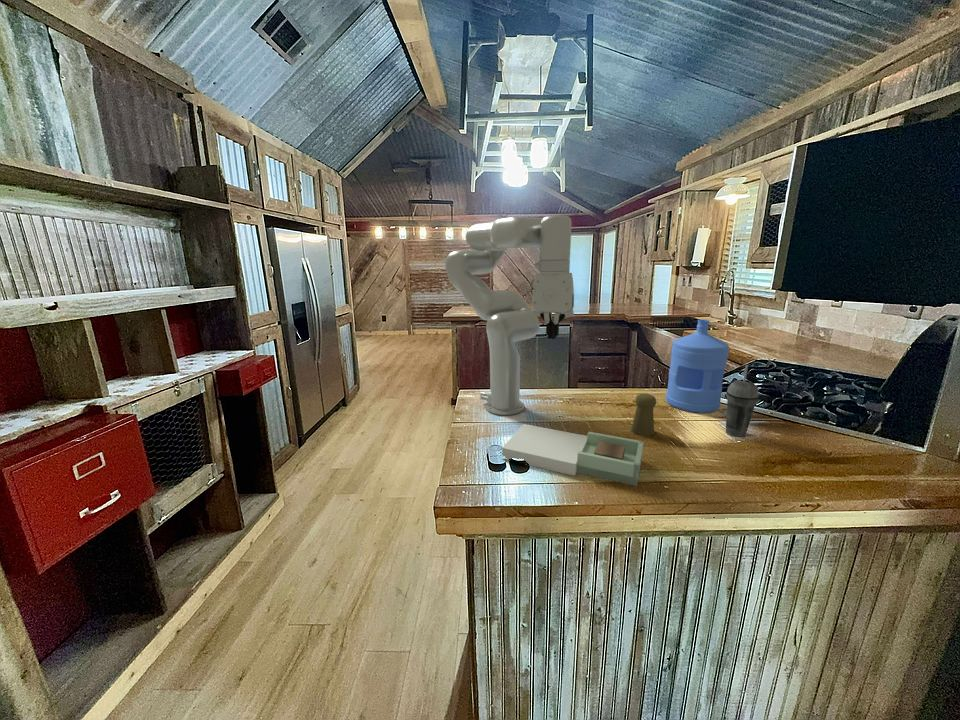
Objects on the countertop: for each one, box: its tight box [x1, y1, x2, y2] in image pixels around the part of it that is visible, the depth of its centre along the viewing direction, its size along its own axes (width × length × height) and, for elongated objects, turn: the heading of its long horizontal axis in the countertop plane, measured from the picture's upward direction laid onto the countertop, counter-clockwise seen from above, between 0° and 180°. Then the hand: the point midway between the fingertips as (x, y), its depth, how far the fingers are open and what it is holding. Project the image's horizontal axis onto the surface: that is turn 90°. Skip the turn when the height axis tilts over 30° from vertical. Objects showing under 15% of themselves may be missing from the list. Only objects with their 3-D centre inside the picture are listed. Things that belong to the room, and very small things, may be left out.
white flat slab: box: [501, 423, 587, 476], centre depth 96 cm, size 18×15×3 cm
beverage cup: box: [725, 364, 760, 439], centre depth 101 cm, size 7×7×20 cm
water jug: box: [665, 319, 730, 414], centre depth 121 cm, size 16×16×28 cm
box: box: [576, 431, 645, 487], centre depth 89 cm, size 13×12×5 cm
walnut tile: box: [594, 441, 625, 460], centre depth 88 cm, size 6×6×2 cm
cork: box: [630, 393, 657, 438], centre depth 105 cm, size 6×6×11 cm
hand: (552, 337), depth 101 cm, fingers closed
